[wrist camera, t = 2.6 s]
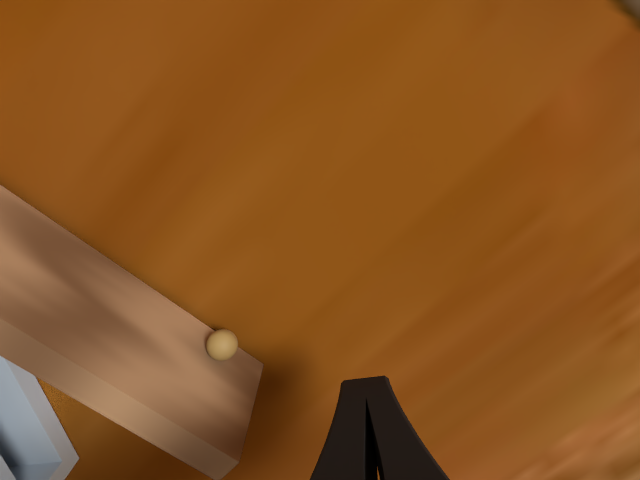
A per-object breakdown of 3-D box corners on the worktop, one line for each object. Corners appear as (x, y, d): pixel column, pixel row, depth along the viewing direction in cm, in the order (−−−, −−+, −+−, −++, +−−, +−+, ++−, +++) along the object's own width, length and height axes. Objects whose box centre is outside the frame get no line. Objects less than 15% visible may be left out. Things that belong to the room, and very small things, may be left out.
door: (-93, 155, 14) (-296, 184, 9) (-71, 103, 13) (-278, 107, 8) (247, 380, 17) (218, 481, 12) (279, 348, 16) (260, 443, 12)
